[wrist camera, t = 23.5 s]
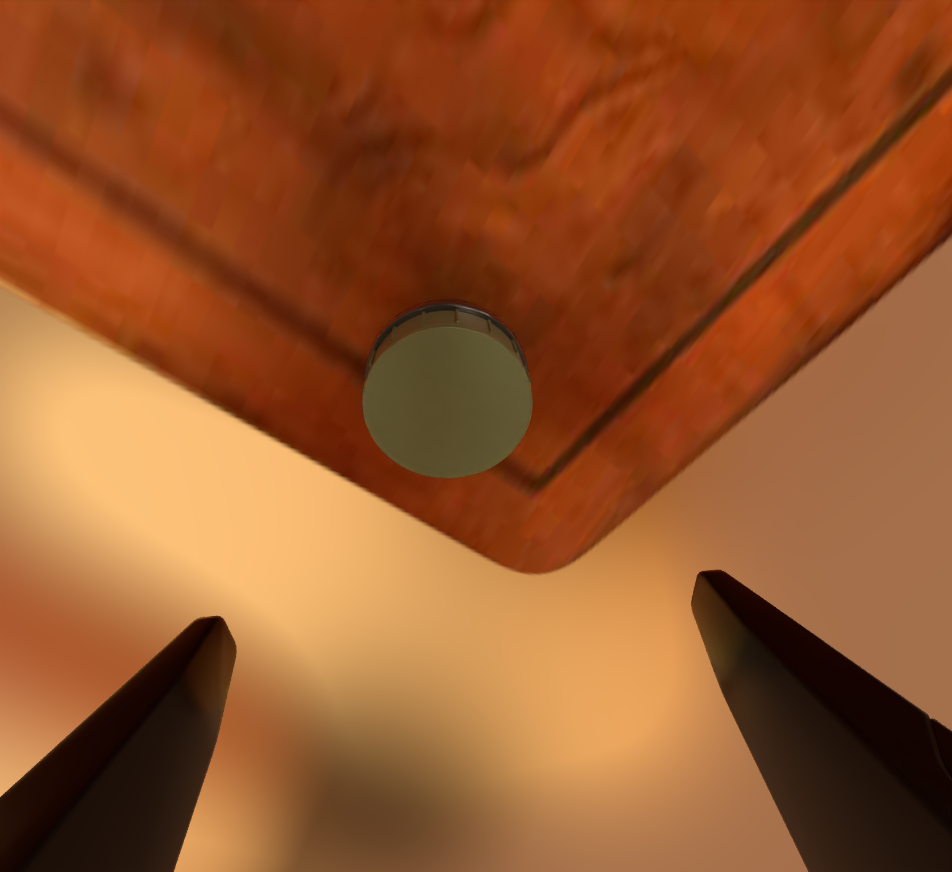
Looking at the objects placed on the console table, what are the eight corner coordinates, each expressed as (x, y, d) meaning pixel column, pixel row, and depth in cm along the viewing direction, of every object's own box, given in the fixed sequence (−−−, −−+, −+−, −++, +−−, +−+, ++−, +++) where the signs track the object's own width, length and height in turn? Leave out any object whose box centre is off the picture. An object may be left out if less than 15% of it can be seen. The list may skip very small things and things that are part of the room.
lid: (526, 446, 20) (533, 472, 18) (381, 458, 20) (376, 485, 18) (525, 302, 17) (533, 318, 15) (354, 315, 17) (345, 332, 15)
